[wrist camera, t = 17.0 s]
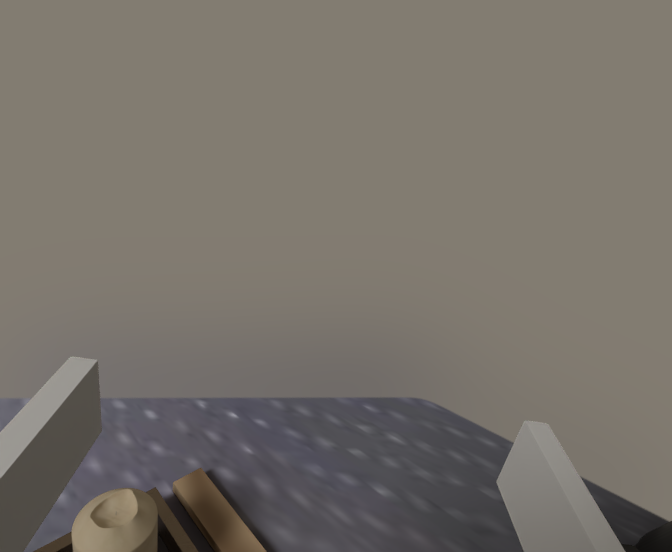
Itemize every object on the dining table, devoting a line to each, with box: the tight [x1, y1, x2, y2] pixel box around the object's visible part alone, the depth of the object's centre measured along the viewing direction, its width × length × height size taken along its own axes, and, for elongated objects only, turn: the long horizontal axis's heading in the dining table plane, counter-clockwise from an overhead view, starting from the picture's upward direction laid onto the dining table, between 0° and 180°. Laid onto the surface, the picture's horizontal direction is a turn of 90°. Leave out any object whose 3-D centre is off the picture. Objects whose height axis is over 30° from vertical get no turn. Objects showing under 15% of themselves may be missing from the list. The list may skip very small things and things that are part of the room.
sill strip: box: [173, 468, 266, 552], centre depth 41 cm, size 3×12×1 cm, turn 45°
